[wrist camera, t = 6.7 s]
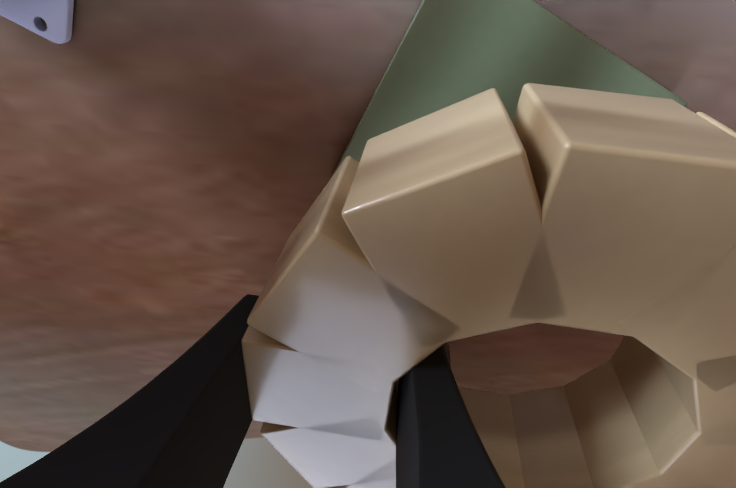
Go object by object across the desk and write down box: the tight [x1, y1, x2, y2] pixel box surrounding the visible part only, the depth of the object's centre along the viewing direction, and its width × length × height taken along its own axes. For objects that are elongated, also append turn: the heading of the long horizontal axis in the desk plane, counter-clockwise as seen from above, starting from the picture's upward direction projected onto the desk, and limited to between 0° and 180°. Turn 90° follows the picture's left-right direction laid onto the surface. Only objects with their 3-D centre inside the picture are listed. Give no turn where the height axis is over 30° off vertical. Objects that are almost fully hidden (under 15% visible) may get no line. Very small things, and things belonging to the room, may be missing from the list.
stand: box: [331, 0, 687, 178], centre depth 15 cm, size 10×10×6 cm
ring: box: [241, 83, 736, 488], centre depth 10 cm, size 13×13×3 cm
